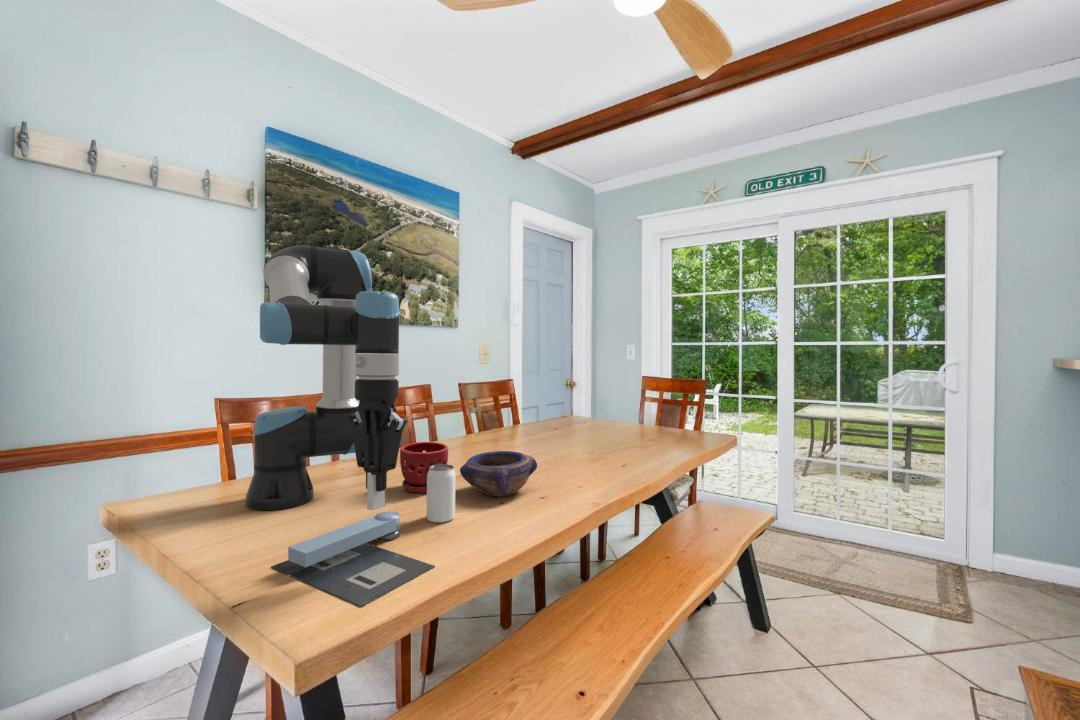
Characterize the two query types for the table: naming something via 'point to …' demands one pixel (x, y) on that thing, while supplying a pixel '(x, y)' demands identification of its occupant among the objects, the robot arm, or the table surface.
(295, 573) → the label panel
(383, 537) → the arm pivot
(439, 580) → the table surface
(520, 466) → the bowl
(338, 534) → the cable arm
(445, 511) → the can
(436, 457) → the plant pot
